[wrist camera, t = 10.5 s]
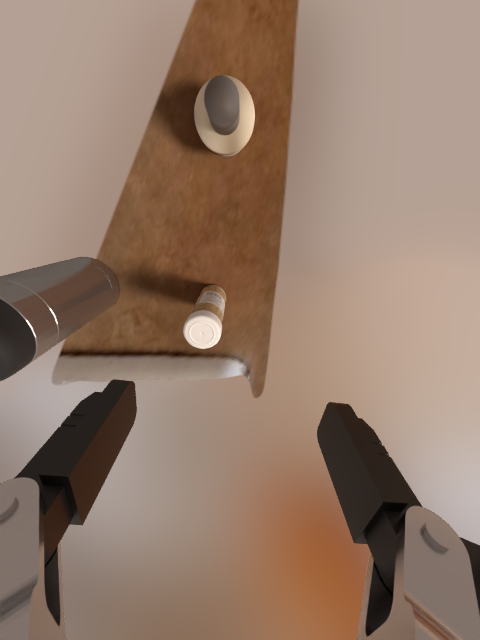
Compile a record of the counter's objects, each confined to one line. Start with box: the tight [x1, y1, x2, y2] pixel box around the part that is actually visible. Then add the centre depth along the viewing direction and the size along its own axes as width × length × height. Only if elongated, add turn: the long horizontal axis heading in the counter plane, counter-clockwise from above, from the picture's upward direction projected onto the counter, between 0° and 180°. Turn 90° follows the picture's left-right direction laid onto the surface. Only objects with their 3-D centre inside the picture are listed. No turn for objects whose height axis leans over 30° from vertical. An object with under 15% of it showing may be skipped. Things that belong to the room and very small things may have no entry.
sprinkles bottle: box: [183, 285, 226, 349], centre depth 33 cm, size 5×5×13 cm
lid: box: [194, 75, 255, 156], centre depth 24 cm, size 7×7×5 cm
